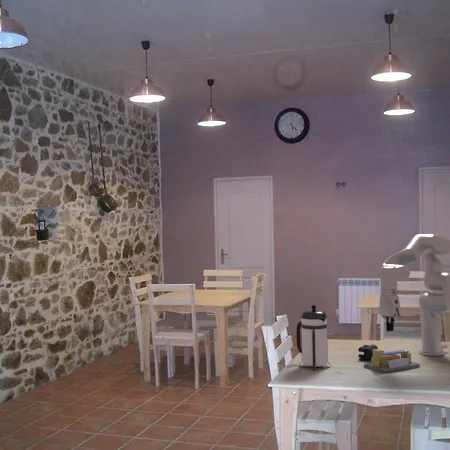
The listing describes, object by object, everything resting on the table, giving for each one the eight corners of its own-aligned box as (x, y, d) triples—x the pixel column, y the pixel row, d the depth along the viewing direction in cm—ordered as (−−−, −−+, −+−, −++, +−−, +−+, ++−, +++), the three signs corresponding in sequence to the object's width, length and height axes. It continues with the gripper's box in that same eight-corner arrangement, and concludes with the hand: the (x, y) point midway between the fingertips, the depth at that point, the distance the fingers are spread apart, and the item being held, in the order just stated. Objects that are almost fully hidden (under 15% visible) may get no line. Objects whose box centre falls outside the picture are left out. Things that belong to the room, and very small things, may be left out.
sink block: (398, 361, 308) (398, 342, 308) (419, 367, 296) (419, 347, 296) (364, 367, 298) (363, 348, 298) (384, 373, 286) (383, 353, 285)
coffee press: (332, 363, 307) (331, 302, 306) (328, 371, 291) (327, 307, 291) (297, 362, 311) (296, 302, 311) (292, 369, 296) (290, 306, 295)
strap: (404, 351, 302) (404, 349, 302) (408, 352, 300) (408, 350, 300) (379, 354, 295) (379, 352, 295) (383, 355, 293) (383, 353, 293)
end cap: (371, 362, 308) (371, 348, 308) (358, 360, 312) (357, 346, 312) (378, 358, 317) (378, 344, 317) (365, 356, 321) (365, 343, 321)
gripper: (406, 293, 291) (407, 332, 291) (384, 290, 304) (385, 327, 305) (393, 294, 288) (395, 334, 288) (372, 291, 301) (373, 329, 301)
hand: (389, 330), depth 296 cm, fingers closed
